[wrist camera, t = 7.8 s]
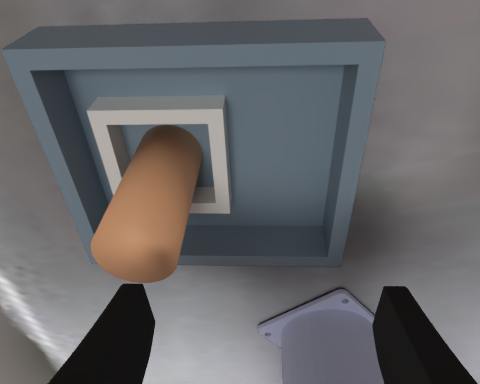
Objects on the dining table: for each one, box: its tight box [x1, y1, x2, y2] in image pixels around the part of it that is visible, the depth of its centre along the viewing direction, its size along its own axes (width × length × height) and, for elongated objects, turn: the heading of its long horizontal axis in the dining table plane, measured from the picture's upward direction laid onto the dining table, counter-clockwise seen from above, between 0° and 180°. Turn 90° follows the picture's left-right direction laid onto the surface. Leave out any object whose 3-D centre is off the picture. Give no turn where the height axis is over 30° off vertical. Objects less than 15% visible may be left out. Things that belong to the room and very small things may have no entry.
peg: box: [91, 125, 202, 283], centre depth 17 cm, size 3×3×7 cm
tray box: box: [1, 18, 386, 267], centre depth 18 cm, size 14×12×3 cm
